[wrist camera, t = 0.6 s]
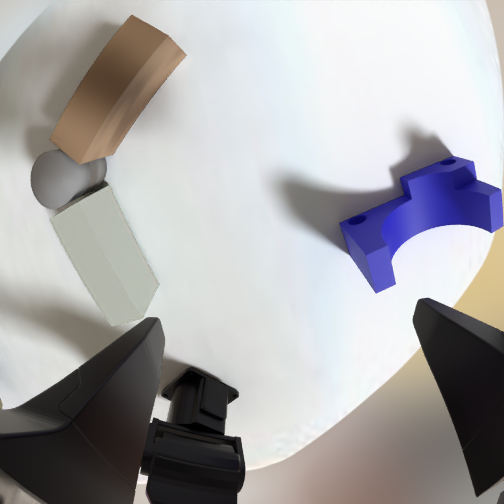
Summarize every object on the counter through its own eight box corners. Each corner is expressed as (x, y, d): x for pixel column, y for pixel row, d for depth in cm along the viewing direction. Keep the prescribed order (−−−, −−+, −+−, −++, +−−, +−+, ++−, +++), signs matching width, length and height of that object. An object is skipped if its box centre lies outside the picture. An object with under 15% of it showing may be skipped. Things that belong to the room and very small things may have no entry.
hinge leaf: (59, 158, 19) (23, 169, 14) (94, 135, 18) (59, 140, 14) (127, 294, 24) (107, 327, 20) (163, 282, 23) (147, 316, 19)
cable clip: (452, 155, 19) (498, 169, 14) (460, 202, 21) (503, 226, 16) (332, 204, 21) (359, 233, 16) (349, 254, 23) (375, 293, 18)
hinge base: (92, 199, 21) (59, 220, 16) (61, 174, 20) (24, 188, 15) (190, 57, 17) (173, 38, 12) (152, 33, 16) (126, 12, 11)
